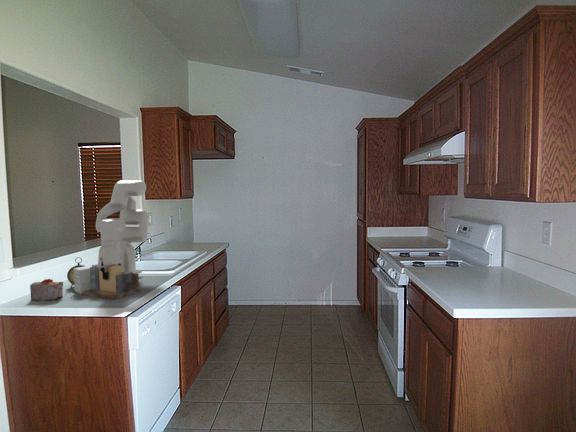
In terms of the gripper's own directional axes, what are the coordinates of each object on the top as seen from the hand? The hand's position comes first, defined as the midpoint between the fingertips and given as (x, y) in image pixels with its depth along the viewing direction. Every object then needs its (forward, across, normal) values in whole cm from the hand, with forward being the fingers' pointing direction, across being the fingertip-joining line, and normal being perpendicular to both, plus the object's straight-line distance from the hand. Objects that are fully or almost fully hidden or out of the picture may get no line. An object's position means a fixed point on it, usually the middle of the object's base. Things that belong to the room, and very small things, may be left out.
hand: (110, 277), depth 189 cm
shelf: (+8, 0, 0) cm, 8 cm away
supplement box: (+8, +3, -16) cm, 18 cm away
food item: (+8, +20, -20) cm, 30 cm away
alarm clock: (+8, -3, -28) cm, 29 cm away
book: (+6, 0, 0) cm, 6 cm away
